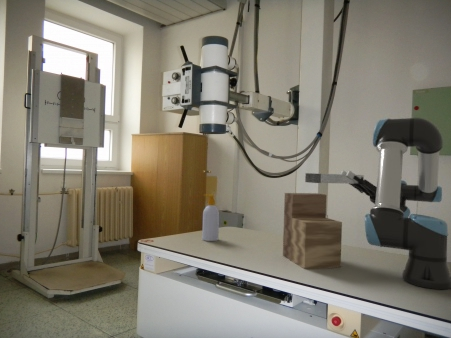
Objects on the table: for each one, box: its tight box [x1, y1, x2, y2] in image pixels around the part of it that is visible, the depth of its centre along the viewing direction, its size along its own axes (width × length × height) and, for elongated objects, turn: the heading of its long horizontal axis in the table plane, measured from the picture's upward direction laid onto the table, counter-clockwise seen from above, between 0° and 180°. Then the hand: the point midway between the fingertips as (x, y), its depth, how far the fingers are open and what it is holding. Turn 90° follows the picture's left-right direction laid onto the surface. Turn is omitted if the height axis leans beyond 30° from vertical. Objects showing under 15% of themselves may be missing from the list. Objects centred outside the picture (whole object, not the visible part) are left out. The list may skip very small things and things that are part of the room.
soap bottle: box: [201, 193, 220, 242], centre depth 183 cm, size 9×9×24 cm
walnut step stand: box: [282, 192, 343, 270], centre depth 145 cm, size 20×16×28 cm
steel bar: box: [304, 172, 365, 185], centre depth 154 cm, size 8×26×4 cm, turn 105°
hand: (344, 173), depth 156 cm, fingers closed on steel bar, 4 cm apart
